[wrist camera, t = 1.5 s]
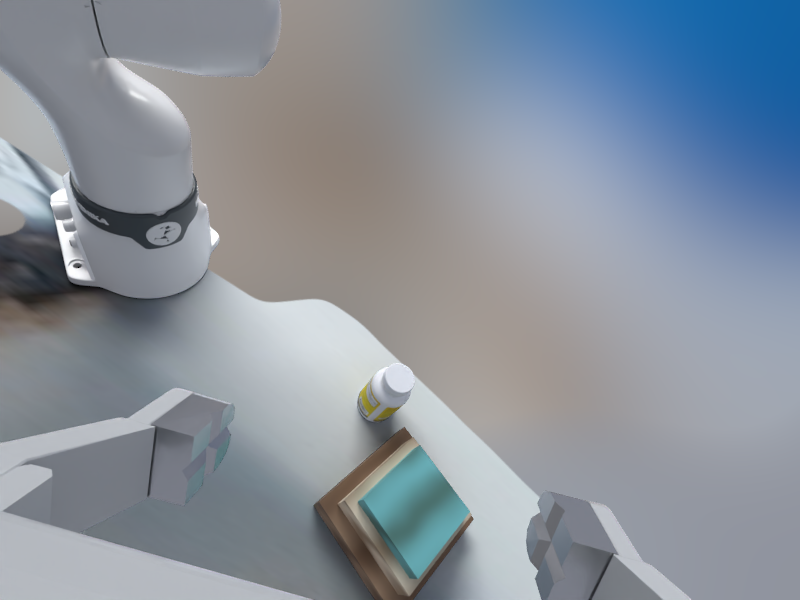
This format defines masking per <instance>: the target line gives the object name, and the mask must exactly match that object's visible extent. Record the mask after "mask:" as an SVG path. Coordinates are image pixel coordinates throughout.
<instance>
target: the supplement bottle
mask: <svg viewBox="0 0 800 600" xmlns="http://www.w3.org/2000/svg"><path fill="white" fill-rule="evenodd" d="M414 383H415V378H414V375H413V372H412V371H411V370H410V369H409V368H408V367H407V366H406V365H404V364H401V363H395V364H392V365H390V366H389V367H385V368H382V369H380V370H379V371H378V372H377V373H376V374H375V375H374V376H373V377H372V378H371V380H370V381H369V382H368V383H367V385H366V386H365V387H364V388H363V389H362V391H361V392H360V394H359V396H358V401H357V404H358V409H359V411H360V413H361V415H362V416H363V417H364V418H366V419H367V420H369V421H371V422H382V421H384V420H386V419H387V418H389V417H390V416H391V415H392V414H393V413H394V412H395V411H397V410H398V409H399V408H400V407H401V406H402V405H403V404H405V402H406V401H407V400H408V399H409V396H410V393H411V390H412V388H413V387H414Z"/></svg>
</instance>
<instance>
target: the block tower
mask: <svg viewBox="0 0 800 600" xmlns="http://www.w3.org/2000/svg"><path fill="white" fill-rule="evenodd" d="M314 507H315V508H316V510H317V511H318V513H319V515H320V516H321V518H322V519H323V521H324V522H325V524H326V525H327V527H328V528H329V530H330V531H331V533H332V535H333V536H334V538H335V539H336V541H337V542H338V544H339V545H340V547H341V548H342V550H343V551H344V553H345V554H346V556H347V558H348V559H349V561H350V562H351V564H352V565H353V567H354V568H355V570H356V571H357V573H358V574H359V576H360V578H361V579H362V581H363V582H364V584H365V585H366V587H367V588H368V590H369V591H370V593H371V594H372V596H373V598H374V599H375V600H413V599H414V598H415V596H416V595H417V594H418V592H419V591H420V590H421V588H422V587H423V586H424V584H425V583H426V582H427V580H428V579H429V578H430V576H431V575H432V574H433V572H434V571H435V570H436V568H437V567H438V566H439V564H440V563H441V562H442V560H443V559H444V558H445V556H446V555H447V554H448V552H449V551H450V550H451V549H452V547H453V546H454V545H455V543H456V542H457V541H458V539H459V538H460V537H461V535H462V534H463V533H464V531H465V530H466V529H467V527H468V526H469V525H470V523H471V522H472V521H473V517H472V516H471V513H470V511H469V510H468V508H467V507H466V506H465V504H464V503H463V502H462V500H461V499H460V498H459V496H458V495H457V494H456V492H455V491H454V490H453V488H452V487H451V486H450V484H449V483H448V482H447V480H446V479H445V478H444V476H443V475H442V474H441V472H440V471H439V470H438V468H437V467H436V466H435V465H434V463H433V462H432V461H431V459H430V458H429V457H428V455H427V454H426V453H425V451H424V450H423V449H422V447H421V446H420V445H419V444H418V443H417V442H416V440H415V439H414V438H412V436H411V435H410V434H409V432H408V431H407V430H406V428H405V427H404V428H402V429H401V430H400V431H398V432H397V433H395V434H394V435H393V436H392V437H391V438H390V439H389V440H387V441H386V442H385V443H384V444H383V445H382V446H381V447H379V448H378V449H377V450H376V451H375V452H374V453H373V454H371V455H370V456H369V457H368V458H367V459H366V460H365V461H363V462H362V463H361V464H360V465H359V466H358V467H357V468H355V469H354V470H353V471H352V472H351V473H350V474H349V475H347V476H346V477H345V478H344V479H343V480H342V481H341V482H339V483H338V484H337V485H336V486H335V487H334V488H333V489H331V490H330V491H329V492H328V493H327V494H326V495H324V496H323V497H322V498H321V499H320V500H319V501H318V502H316V503H315V504H314Z"/></svg>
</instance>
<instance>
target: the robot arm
mask: <svg viewBox="0 0 800 600" xmlns="http://www.w3.org/2000/svg"><path fill="white" fill-rule="evenodd" d="M280 30H281V6H280V0H0V70H2V71H3V72H4V73H5V74H6V75H7V76H8V77H9V78H10V79H12V80H13V81H14V82H15V83H16V84H17V85H18V86H19V87H20V88H21V89H22V90H23V91H24V92H25V93H26V94H27V95H28V96H29V97H30V99H31V100H33V102H34V103H35V104H36V105H37V106H38V108H39V109H40V111H41V112H42V113H43V115H44V116H45V117H46V119H47V120H48V122H49V124H50V126H51V128H52V130H53V131H54V134H55V136H56V138H57V140H58V142H59V144H60V146H61V149H62V151H63V153H64V156H65V158H66V161H67V163H68V165H69V168H70V171H69V172H67V173H66V174H65V175H64V176H63V183H64V188H62V189H60V190H58V191H57V192H55V193H54V194H52V195H51V197H50V199H51V202H50V203H51V207H52V210H53V214H54V218H55V223H56V227H57V232H58V236H59V241H60V245H61V250H62V254H63V259H64V263H65V268H66V272H67V276H68V279H69V281H70V282H72V283H74V284H78V285H85V286H98V287H102V288H105V289H107V290H110V291H112V292H115V293H117V294H120V295H124V296H128V297H134V298H161V297H167V296H171V295H174V294H177V293H180V292H182V291H184V290H186V289H188V288H190V287H191V286H193V285H194V284H196V283H197V282H198V281H199V280H200V279H201V278H202V277H203V275H204V274H205V272H206V270H207V268H208V264H209V259H210V255H211V252H212V251H213V250H214V249H215V248H216V247H217V245H218V243H219V235H218V234H217V232H215V231H214V230H213V229H212V228H211V227H210V224H209V215H208V208H207V206H206V204H203V203H202V202H201V201H200V200H199V193H198V187H197V181H196V178H195V176H194V174H193V172H192V171H193V170H192V148H191V132H190V129H189V126H188V123H187V121H186V119H185V117H184V116H183V115H182V113H181V112H180V110H179V109H178V108H177V106H176V105H175V104H174V103H173V102H172V101H171V100H170V98H169V97H168V96H167V95H165V94H164V93H163V92H162V91H161V90H159V89H158V88H156V87H155V86H154V85H152V84H150V83H149V82H147V81H145V80H144V79H142V78H140V77H139V76H137V75H136V74H134V73H133V72H131V71H130V70H128V69H127V68H126V67H124V66H123V65H122V64H121V63H120V62H119V61H118V60H117V59H121V60H125V61H130V62H135V63H140V64H145V65H150V66H154V67H160V68H164V69H169V70H174V71H179V72H184V73H188V74H193V75H198V76H217V77H219V76H220V77H244V76H255V75H256V74H257V73H259V72H260V71H261V70H262V69H263V68H264V67H265V66H266V65H267V63H268V62H269V61H270V59H271V57H272V55H273V54H274V51H275V49H276V46H277V44H278V40H279V35H280ZM78 266H81V267H80V268H76V267H78ZM234 411H235V407H234V405H233V404H232V403H229V402H226V401H222V400H219V399H216V398H212V397H209V396H206V395H202V394H199V393H195V392H192V391H189V390H185V389H181V388H173V389H171V390H169V391H168V392H166V393H165V394H163V395H162V396H160V397H159V398H157V399H156V400H154V401H153V402H151V403H150V404H148V405H147V406H145V407H144V408H142V409H141V410H139V411H138V412H136V413H135V414H133V415H132V416H130V417H129V418H127V419H126V418H122V417H118V418H114V419H109V420H104V421H100V422H95V423H91V424H86V425H81V426H77V427H72V428H68V429H63V430H58V431H54V432H49V433H45V434H40V435H35V436H31V437H26V438H22V439H17V440H12V441H8V442H3V443H0V600H313V599H309V598H306V597H302V596H299V595H295V594H292V593H288V592H285V591H281V590H278V589H274V588H271V587H267V586H263V585H260V584H256V583H253V582H249V581H246V580H242V579H239V578H235V577H232V576H228V575H225V574H221V573H218V572H214V571H211V570H207V569H204V568H200V567H197V566H193V565H190V564H186V563H182V562H179V561H175V560H172V559H168V558H165V557H161V556H158V555H154V554H151V553H147V552H144V551H140V550H137V549H133V548H130V547H126V546H123V545H119V544H116V543H112V542H109V541H105V540H101V539H98V538H94V537H91V536H87V535H84V534H80V532H82V531H84V530H86V529H88V528H90V527H92V526H94V525H96V524H98V523H100V522H102V521H104V520H106V519H108V518H110V517H112V516H114V515H116V514H118V513H120V512H122V511H124V510H126V509H128V508H130V507H132V506H134V505H136V504H138V503H140V502H142V501H144V500H146V499H147V497H149V498H153V499H157V500H161V501H166V502H170V503H174V504H178V505H182V506H185V505H186V504H187V502H188V501H189V500H190V499H191V498H192V497H193V495H194V494H195V493H196V492H197V491H198V490H199V488H200V487H201V486H202V484H203V477H204V476H205V475H208V474H210V473H213V472H214V471H215V469H216V468H217V467H218V466H219V464H220V463H221V461H222V459H223V457H224V455H225V454H226V451H227V448H228V445H229V441H230V436H231V434H230V432H229V430H228V428H227V425H228V424H229V423H230V422H231V421H232V420H233V418H234ZM538 506H539V509H540V513H538V514H537V515H535V516H534V517H532V518H531V521H530V523H529V526H528V529H527V538H526V544H527V552H528V556H529V559H530V561H531V563H532V564H533V565H534V566H535V567H536V568H537V570H538V573H537V575H536V578H535V580H536V583H537V586H538V590H539V593H540V596H541V599H542V600H692V599H691V598H689V597H688V596H687V595H686V594H685V593H683V592H682V591H681V590H680V589H679V588H678V587H676V586H675V585H674V584H673V583H671V582H670V581H669V580H668V579H667V578H666V577H665V576H663V575H662V574H661V573H660V572H659V571H657V570H656V569H655V568H654V567H653V566H651V565H650V564H648V563H644V562H643V561H642V559H641V558H640V556H639V555H638V553H637V551H636V550H635V548H634V547H633V545H632V543H631V542H630V540H629V539H628V537H627V535H626V534H625V532H624V531H623V529H622V528H621V526H620V524H619V523H618V521H617V520H616V518H615V516H614V515H613V513H612V512H611V510H610V509H609V508H608V507H606V506H605V505H603V504H598V503H594V502H590V501H586V500H580V499H576V498H573V497H569V496H565V495H561V494H557V493H553V492H549V491H544V492H543V494H542V495H541V496H540V499H539V501H538Z"/></svg>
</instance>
